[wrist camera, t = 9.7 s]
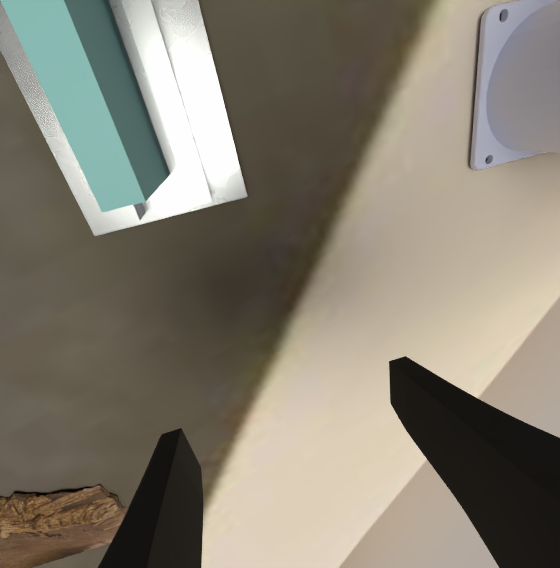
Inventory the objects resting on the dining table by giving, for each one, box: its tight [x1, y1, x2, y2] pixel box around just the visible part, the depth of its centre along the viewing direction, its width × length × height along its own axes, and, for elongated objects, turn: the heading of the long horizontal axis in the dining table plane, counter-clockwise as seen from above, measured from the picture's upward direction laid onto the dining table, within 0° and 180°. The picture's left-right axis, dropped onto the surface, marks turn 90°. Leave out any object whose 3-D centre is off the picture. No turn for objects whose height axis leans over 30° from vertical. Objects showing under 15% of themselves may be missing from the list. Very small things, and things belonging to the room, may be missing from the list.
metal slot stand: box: [0, 0, 247, 236], centre depth 12 cm, size 8×16×3 cm, turn 12°
